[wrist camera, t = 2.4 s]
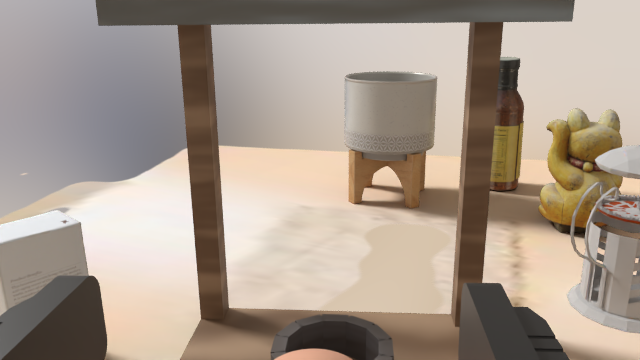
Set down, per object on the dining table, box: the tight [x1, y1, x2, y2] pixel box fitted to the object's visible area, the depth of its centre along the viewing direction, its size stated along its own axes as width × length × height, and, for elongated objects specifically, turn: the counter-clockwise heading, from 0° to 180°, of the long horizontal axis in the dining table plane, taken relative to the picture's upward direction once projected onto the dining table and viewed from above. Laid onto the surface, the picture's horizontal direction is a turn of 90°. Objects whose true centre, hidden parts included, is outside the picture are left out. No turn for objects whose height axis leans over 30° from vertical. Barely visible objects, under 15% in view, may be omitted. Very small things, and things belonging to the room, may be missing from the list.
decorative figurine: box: [538, 108, 623, 233], centre depth 69 cm, size 10×8×15 cm
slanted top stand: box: [96, 0, 575, 360], centre depth 38 cm, size 21×26×27 cm
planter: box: [345, 72, 437, 208], centre depth 82 cm, size 13×13×18 cm
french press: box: [567, 145, 640, 333], centre depth 49 cm, size 10×12×25 cm
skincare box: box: [0, 210, 89, 316], centre depth 43 cm, size 6×4×12 cm
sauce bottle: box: [490, 57, 524, 191], centre depth 85 cm, size 7×6×20 cm
